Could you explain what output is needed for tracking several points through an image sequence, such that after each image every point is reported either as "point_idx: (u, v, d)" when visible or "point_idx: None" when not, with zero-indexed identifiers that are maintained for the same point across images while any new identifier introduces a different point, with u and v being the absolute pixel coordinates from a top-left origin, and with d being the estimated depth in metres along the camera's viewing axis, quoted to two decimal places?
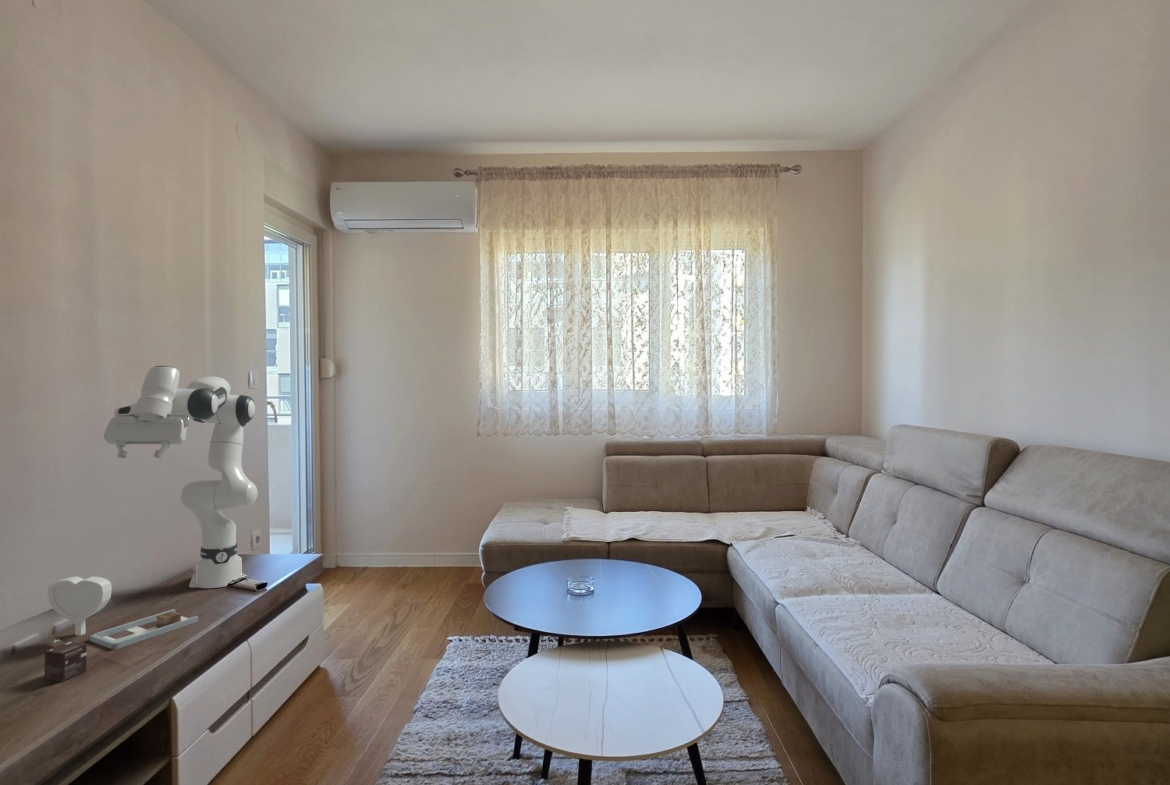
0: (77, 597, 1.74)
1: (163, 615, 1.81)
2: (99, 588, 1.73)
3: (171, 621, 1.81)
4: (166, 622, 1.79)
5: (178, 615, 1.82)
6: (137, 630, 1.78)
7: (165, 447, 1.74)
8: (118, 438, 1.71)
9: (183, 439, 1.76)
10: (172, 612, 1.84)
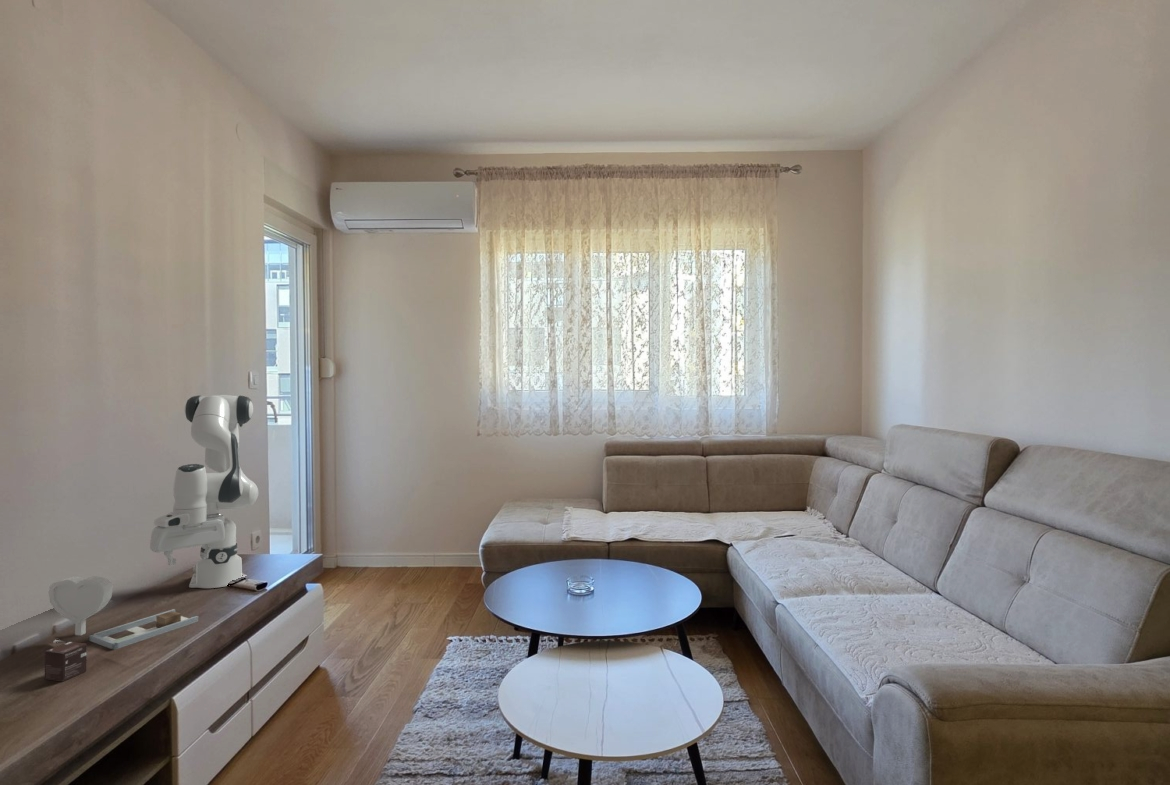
0: (78, 597, 1.74)
1: (163, 615, 1.81)
2: (100, 588, 1.74)
3: (171, 621, 1.81)
4: (166, 622, 1.79)
5: (178, 615, 1.82)
6: (137, 630, 1.78)
7: None
8: (170, 549, 1.80)
9: None
10: (172, 612, 1.84)
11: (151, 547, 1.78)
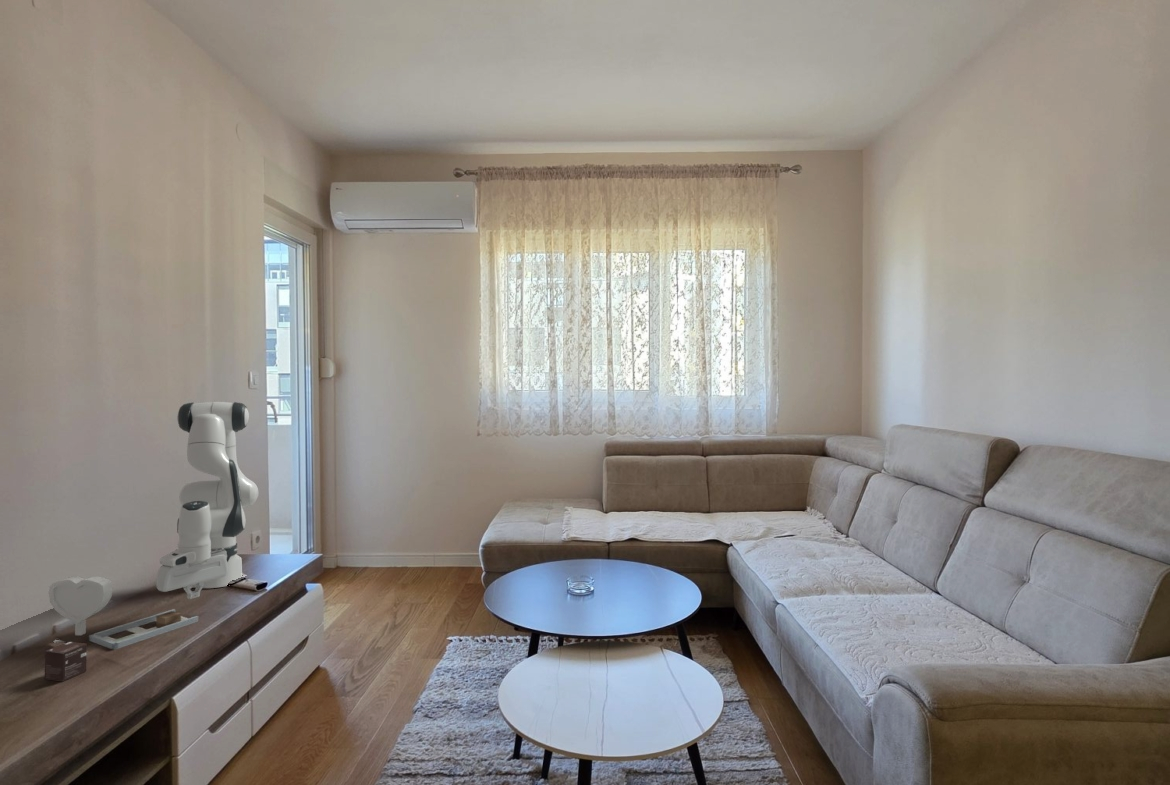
0: (78, 597, 1.74)
1: (163, 615, 1.81)
2: (100, 588, 1.74)
3: (171, 621, 1.81)
4: (166, 622, 1.79)
5: (178, 615, 1.82)
6: (137, 630, 1.78)
7: None
8: (177, 587, 1.82)
9: None
10: (172, 612, 1.84)
11: (158, 586, 1.79)
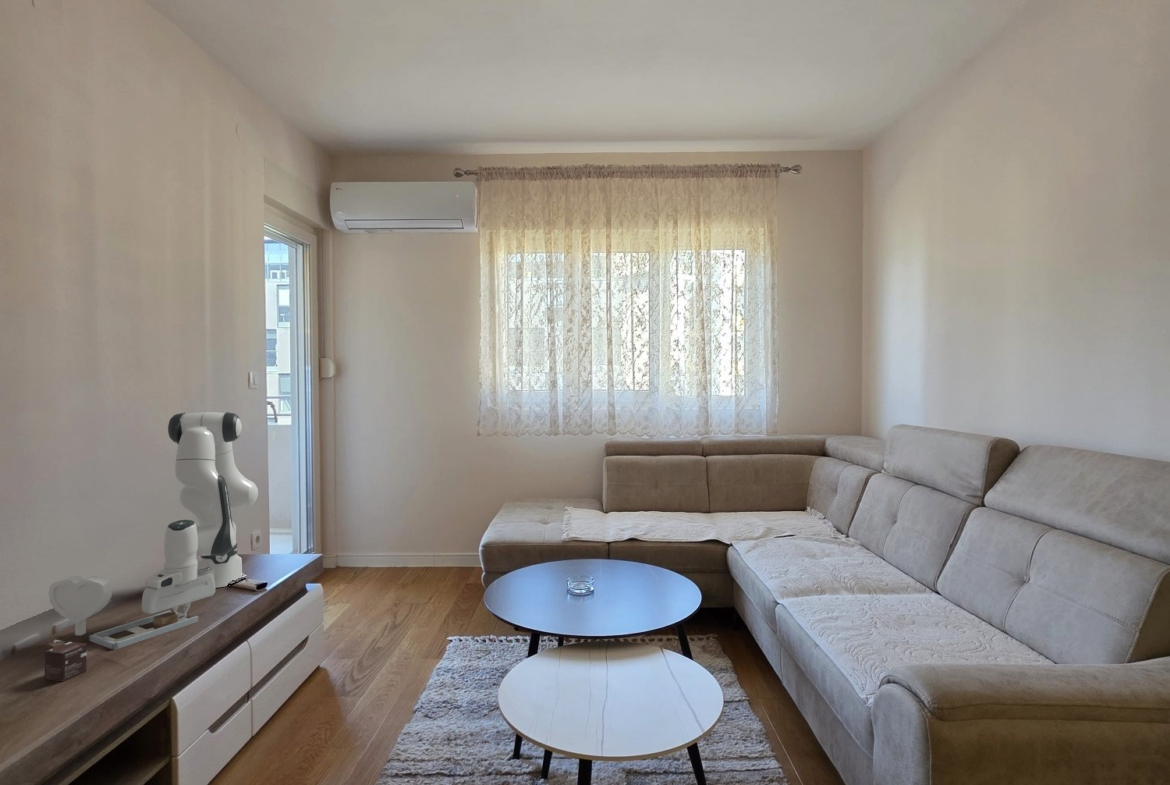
0: (78, 597, 1.74)
1: (160, 616, 1.80)
2: (100, 588, 1.74)
3: (169, 622, 1.80)
4: (163, 623, 1.78)
5: (176, 616, 1.82)
6: (137, 630, 1.78)
7: None
8: (163, 609, 1.78)
9: None
10: (169, 613, 1.83)
11: (143, 608, 1.76)
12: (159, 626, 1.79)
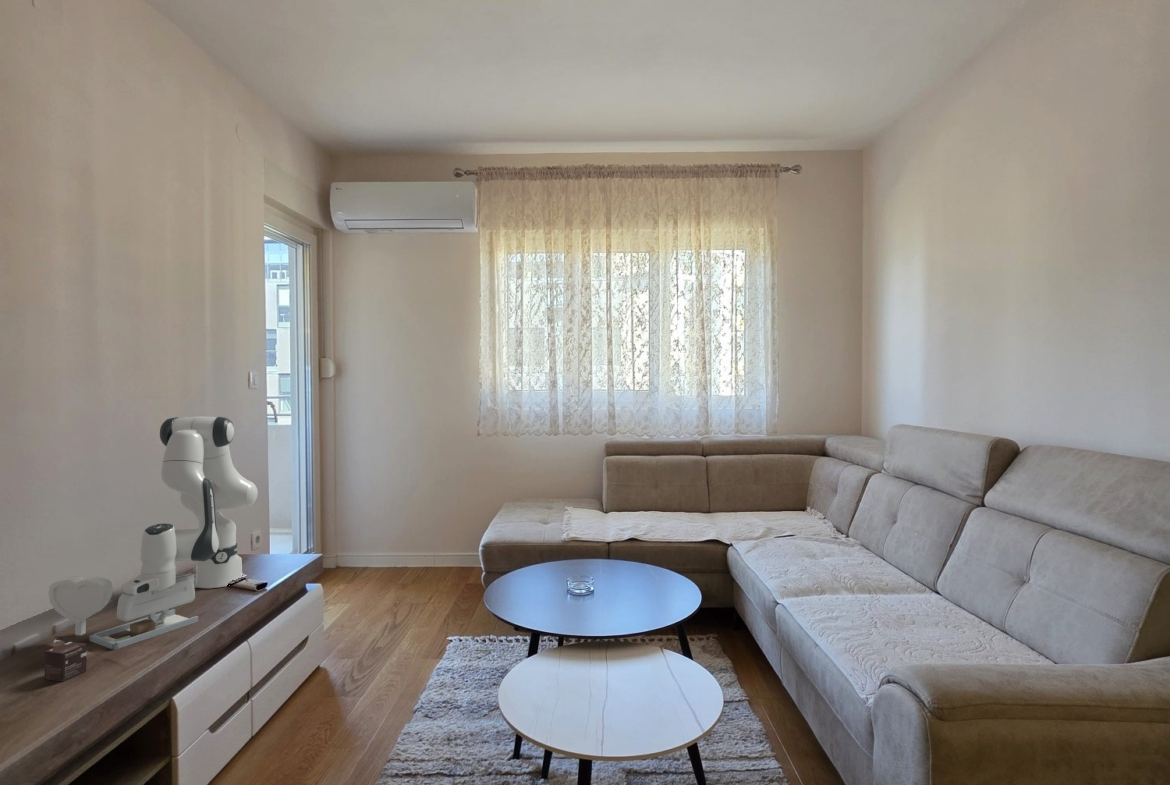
0: (78, 597, 1.74)
1: (137, 623, 1.75)
2: (100, 588, 1.74)
3: (146, 630, 1.74)
4: (140, 631, 1.73)
5: (153, 624, 1.76)
6: None
7: None
8: (139, 616, 1.73)
9: None
10: (146, 620, 1.77)
11: (118, 615, 1.70)
12: (135, 634, 1.73)
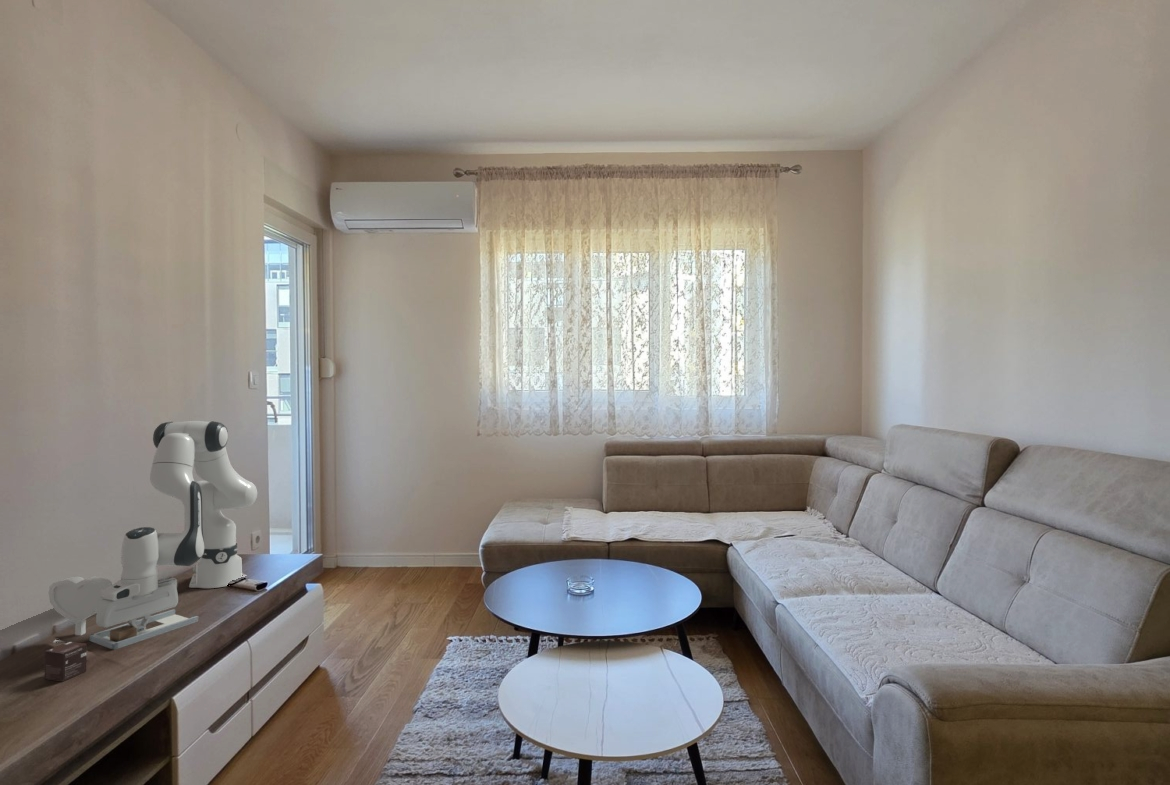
0: (78, 597, 1.74)
1: (117, 630, 1.70)
2: (100, 588, 1.74)
3: (126, 636, 1.69)
4: (120, 637, 1.68)
5: (134, 630, 1.71)
6: None
7: None
8: (119, 622, 1.68)
9: None
10: (127, 626, 1.72)
11: (97, 622, 1.66)
12: (116, 640, 1.68)
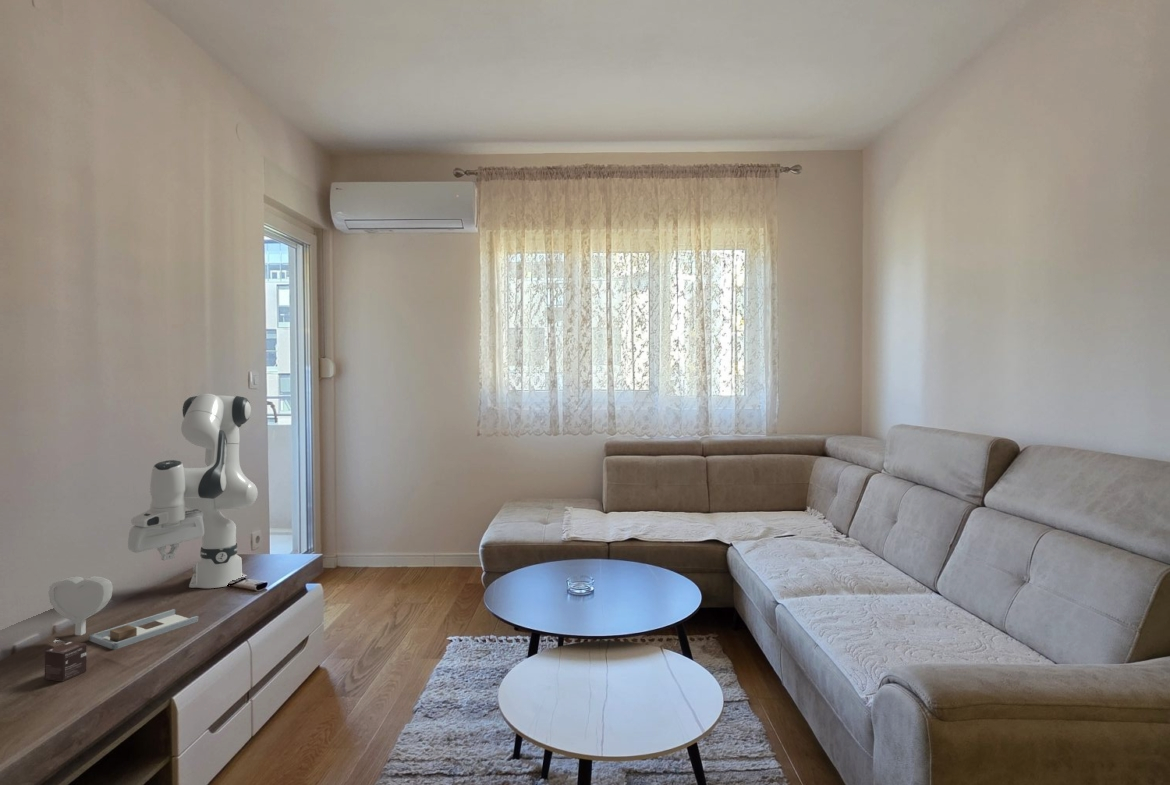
0: (78, 597, 1.74)
1: (117, 630, 1.70)
2: (100, 588, 1.74)
3: (126, 636, 1.69)
4: (120, 637, 1.68)
5: (134, 630, 1.71)
6: (137, 630, 1.78)
7: None
8: (150, 548, 1.76)
9: None
10: (127, 626, 1.72)
11: (129, 547, 1.74)
12: (116, 640, 1.68)
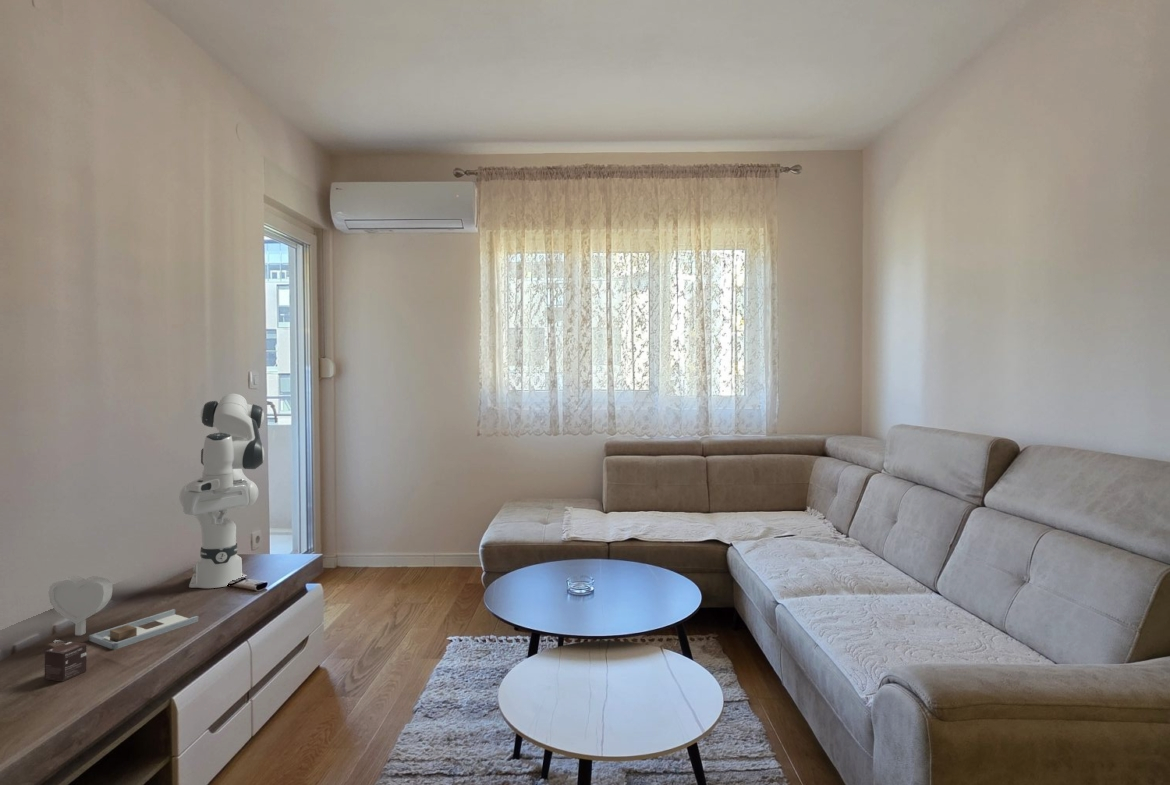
0: (78, 597, 1.74)
1: (117, 630, 1.70)
2: (100, 588, 1.74)
3: (126, 636, 1.69)
4: (120, 637, 1.68)
5: (134, 630, 1.71)
6: (137, 630, 1.78)
7: None
8: (202, 512, 1.92)
9: None
10: (127, 626, 1.72)
11: (185, 510, 1.90)
12: (116, 640, 1.68)
